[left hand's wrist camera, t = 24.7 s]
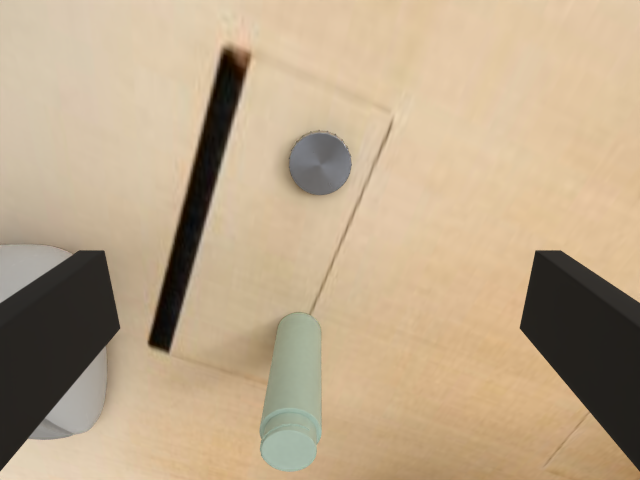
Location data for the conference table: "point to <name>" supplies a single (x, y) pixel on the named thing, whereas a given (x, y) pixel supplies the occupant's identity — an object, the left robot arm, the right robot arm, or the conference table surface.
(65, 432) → the projector
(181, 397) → the conference table surface
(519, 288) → the conference table surface
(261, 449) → the jar
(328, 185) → the lid
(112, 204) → the conference table surface
